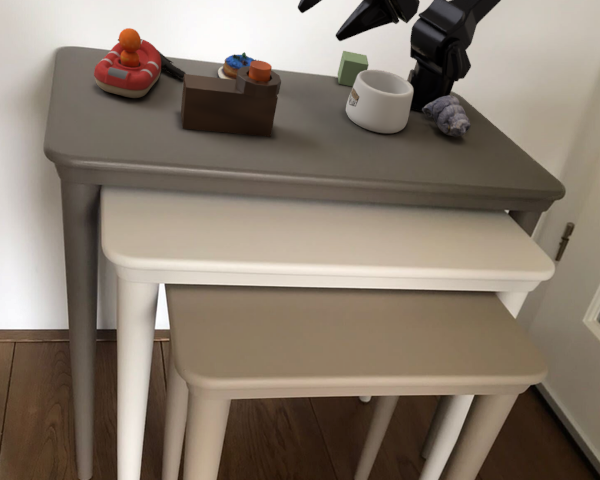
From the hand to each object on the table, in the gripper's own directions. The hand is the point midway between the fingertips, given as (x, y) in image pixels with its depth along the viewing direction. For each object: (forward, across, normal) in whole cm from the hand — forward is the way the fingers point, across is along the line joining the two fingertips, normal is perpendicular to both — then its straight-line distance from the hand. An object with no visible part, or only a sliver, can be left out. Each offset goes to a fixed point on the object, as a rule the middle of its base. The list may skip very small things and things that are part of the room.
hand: (318, 24), depth 89 cm
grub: (-5, +8, +26) cm, 28 cm away
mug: (+2, +2, +18) cm, 19 cm away
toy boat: (+24, -14, -6) cm, 28 cm away
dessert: (+12, -13, +7) cm, 19 cm away
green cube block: (-1, -10, +21) cm, 23 cm away
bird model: (+20, -17, -4) cm, 27 cm away
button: (+11, +1, -3) cm, 11 cm away
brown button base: (+18, 0, 0) cm, 18 cm away
